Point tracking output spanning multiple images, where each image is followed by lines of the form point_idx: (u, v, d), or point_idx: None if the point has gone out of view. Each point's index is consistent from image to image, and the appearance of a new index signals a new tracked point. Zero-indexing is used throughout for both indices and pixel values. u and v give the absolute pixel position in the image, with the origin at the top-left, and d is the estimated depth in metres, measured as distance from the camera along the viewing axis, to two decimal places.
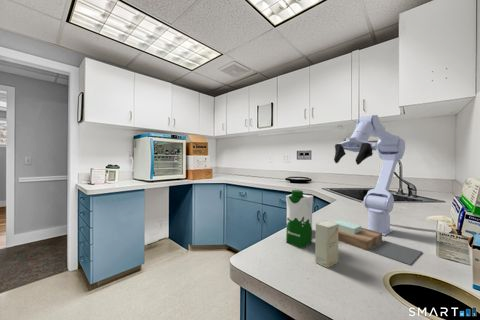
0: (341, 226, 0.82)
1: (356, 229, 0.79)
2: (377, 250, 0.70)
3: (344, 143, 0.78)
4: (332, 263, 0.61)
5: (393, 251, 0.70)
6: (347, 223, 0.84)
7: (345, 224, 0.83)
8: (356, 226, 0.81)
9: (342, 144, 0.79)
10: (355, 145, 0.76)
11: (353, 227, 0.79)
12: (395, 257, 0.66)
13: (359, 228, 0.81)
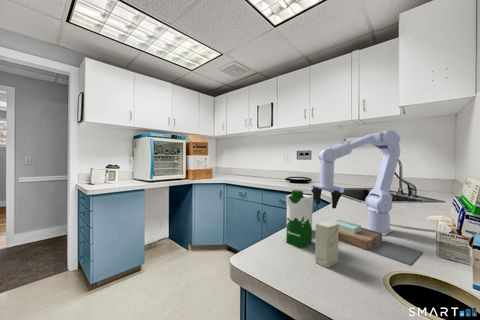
0: (341, 226, 0.82)
1: (356, 229, 0.79)
2: (377, 250, 0.70)
3: (317, 186, 0.92)
4: (332, 263, 0.61)
5: (393, 251, 0.70)
6: (347, 223, 0.84)
7: (345, 224, 0.83)
8: (356, 226, 0.81)
9: None
10: None
11: (353, 227, 0.79)
12: (395, 257, 0.66)
13: (359, 228, 0.81)
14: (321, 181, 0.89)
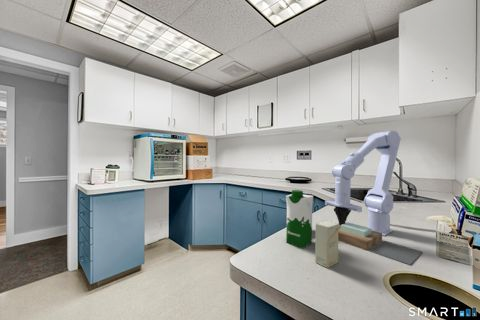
0: (350, 229, 0.79)
1: (366, 232, 0.76)
2: (377, 250, 0.70)
3: None
4: (332, 263, 0.61)
5: (393, 251, 0.70)
6: (356, 226, 0.81)
7: (354, 227, 0.80)
8: (366, 229, 0.78)
9: None
10: None
11: (363, 230, 0.76)
12: (395, 257, 0.66)
13: (369, 231, 0.78)
14: (337, 199, 0.84)
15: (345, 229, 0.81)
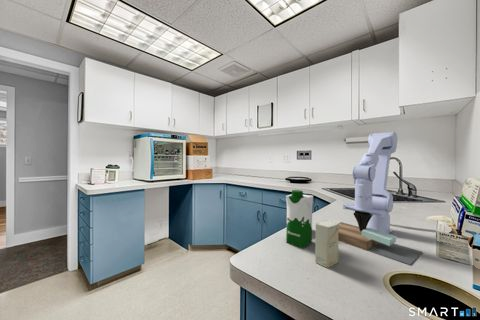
0: (373, 235, 0.73)
1: (392, 240, 0.70)
2: (377, 250, 0.70)
3: (352, 208, 0.80)
4: (332, 263, 0.61)
5: (393, 251, 0.70)
6: (379, 232, 0.75)
7: (377, 233, 0.74)
8: (391, 237, 0.71)
9: None
10: None
11: (388, 238, 0.70)
12: (395, 257, 0.66)
13: (394, 239, 0.71)
14: (357, 202, 0.77)
15: (367, 235, 0.74)
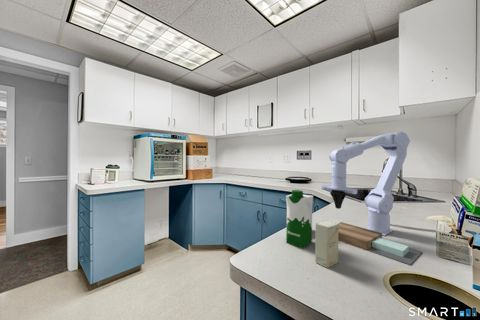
0: (385, 246, 0.70)
1: (404, 250, 0.67)
2: (377, 250, 0.70)
3: (329, 188, 0.90)
4: (332, 263, 0.61)
5: None
6: (390, 242, 0.72)
7: (389, 244, 0.71)
8: (403, 247, 0.69)
9: (328, 187, 0.91)
10: None
11: (400, 249, 0.67)
12: (395, 257, 0.66)
13: (407, 249, 0.69)
14: (333, 182, 0.87)
15: (378, 246, 0.71)
